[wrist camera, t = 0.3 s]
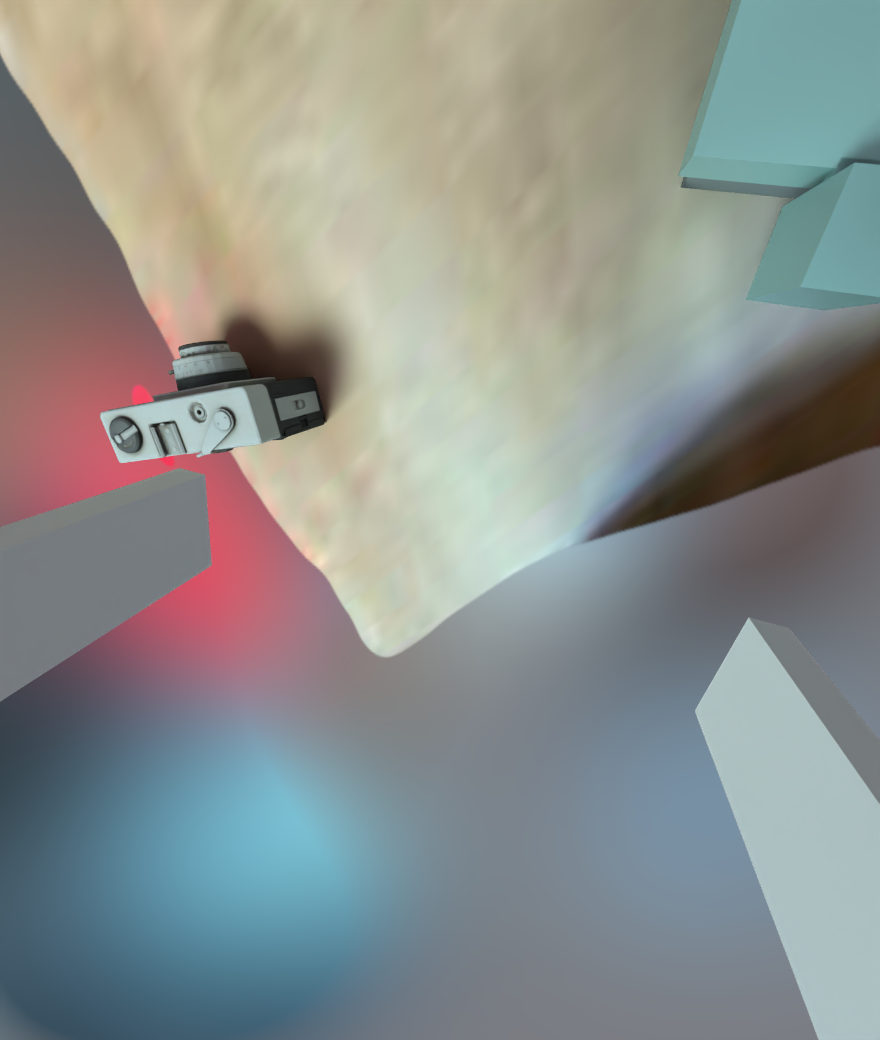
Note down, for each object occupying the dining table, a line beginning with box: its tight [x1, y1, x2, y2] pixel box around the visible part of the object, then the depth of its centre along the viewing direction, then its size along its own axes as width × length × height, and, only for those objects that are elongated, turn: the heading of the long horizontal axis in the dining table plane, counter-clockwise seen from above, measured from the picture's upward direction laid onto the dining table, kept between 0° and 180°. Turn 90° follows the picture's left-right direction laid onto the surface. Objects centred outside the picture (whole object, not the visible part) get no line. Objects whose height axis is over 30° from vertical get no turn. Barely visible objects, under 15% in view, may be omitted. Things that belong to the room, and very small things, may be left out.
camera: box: [100, 341, 325, 463], centre depth 35 cm, size 14×8×10 cm, turn 99°
